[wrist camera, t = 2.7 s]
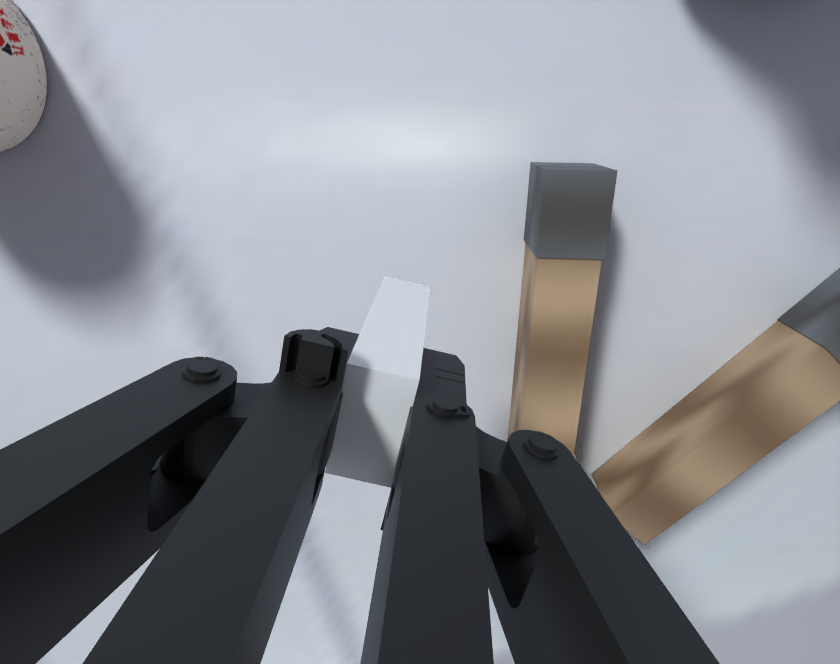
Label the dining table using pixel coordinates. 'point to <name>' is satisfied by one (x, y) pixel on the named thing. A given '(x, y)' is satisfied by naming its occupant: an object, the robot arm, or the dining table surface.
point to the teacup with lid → (19, 77)
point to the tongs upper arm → (559, 294)
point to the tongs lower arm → (729, 418)
